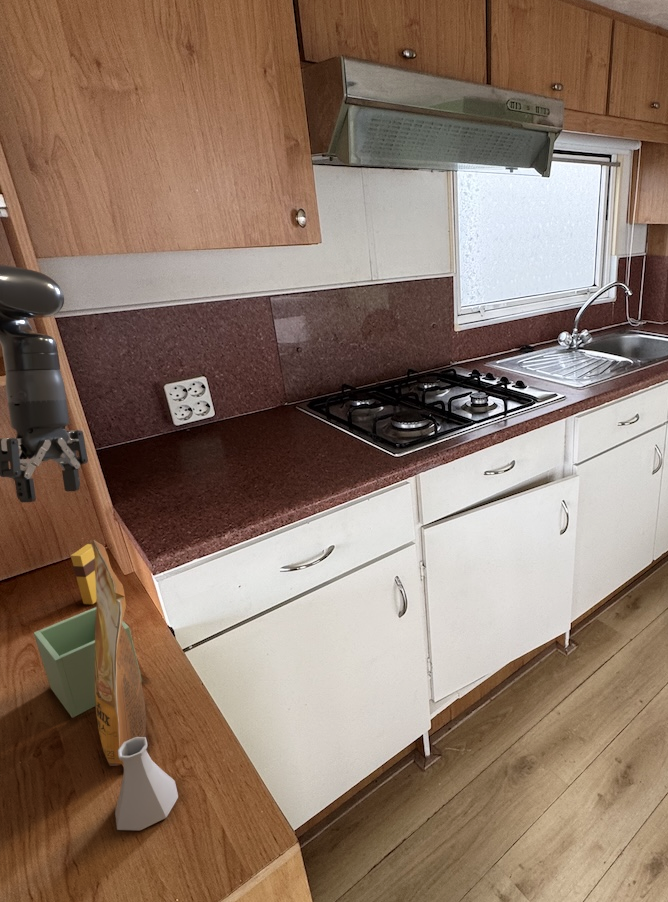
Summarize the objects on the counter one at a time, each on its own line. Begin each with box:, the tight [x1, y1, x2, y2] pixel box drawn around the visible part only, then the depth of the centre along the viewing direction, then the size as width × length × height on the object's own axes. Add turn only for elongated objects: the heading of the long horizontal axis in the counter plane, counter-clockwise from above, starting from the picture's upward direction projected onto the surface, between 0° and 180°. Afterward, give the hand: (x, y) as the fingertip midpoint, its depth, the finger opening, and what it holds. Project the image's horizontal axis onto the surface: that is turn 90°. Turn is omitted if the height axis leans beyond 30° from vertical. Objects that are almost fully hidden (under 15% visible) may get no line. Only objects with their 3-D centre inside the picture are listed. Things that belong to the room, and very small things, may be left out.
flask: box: [114, 736, 179, 831], centre depth 73 cm, size 7×7×10 cm
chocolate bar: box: [70, 543, 96, 605], centre depth 115 cm, size 2×5×11 cm, turn 177°
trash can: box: [33, 606, 143, 719], centre depth 93 cm, size 10×10×11 cm
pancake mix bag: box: [89, 539, 147, 769], centre depth 82 cm, size 7×19×28 cm, turn 34°
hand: (51, 496), depth 96 cm, fingers open, 8 cm apart
